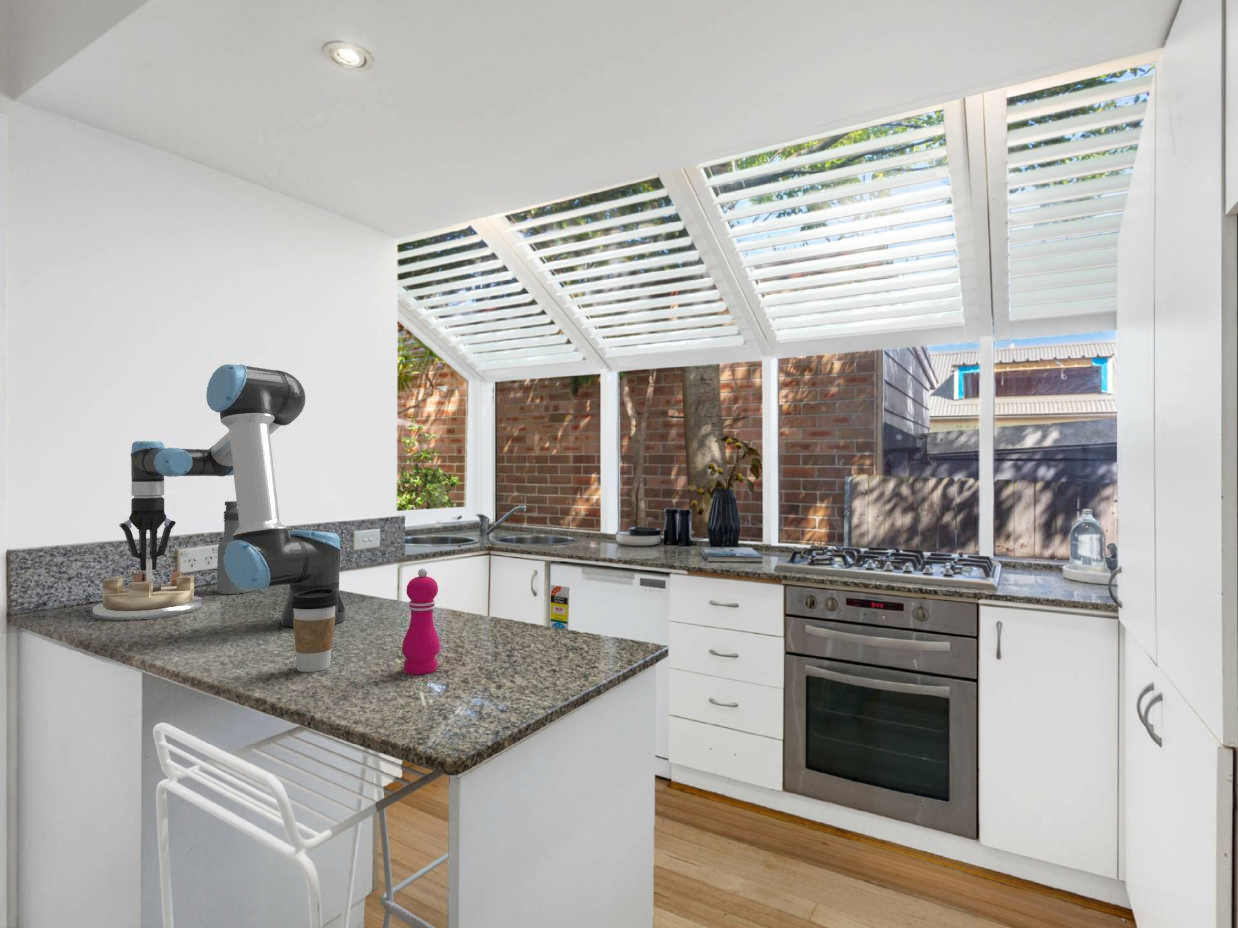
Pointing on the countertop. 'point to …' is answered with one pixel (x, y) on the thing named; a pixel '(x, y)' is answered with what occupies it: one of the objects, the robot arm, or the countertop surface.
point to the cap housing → (146, 611)
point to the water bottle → (229, 529)
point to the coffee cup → (314, 628)
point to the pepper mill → (421, 626)
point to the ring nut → (147, 592)
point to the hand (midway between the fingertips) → (148, 581)
